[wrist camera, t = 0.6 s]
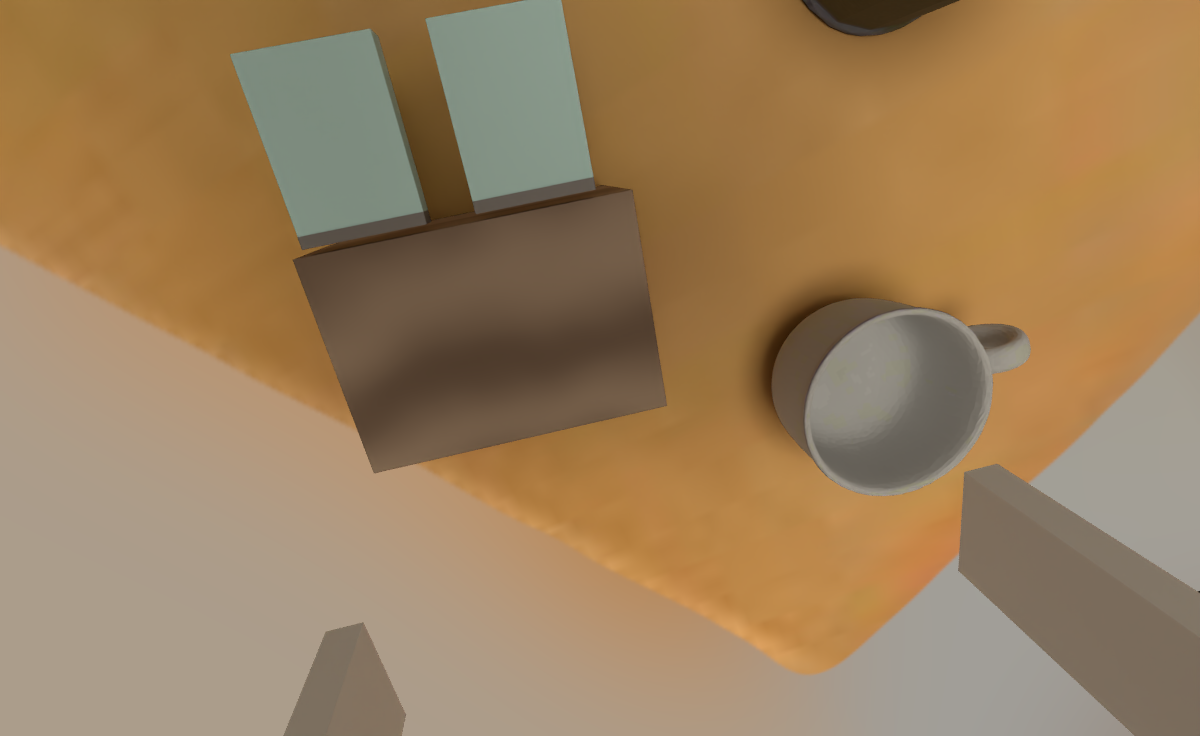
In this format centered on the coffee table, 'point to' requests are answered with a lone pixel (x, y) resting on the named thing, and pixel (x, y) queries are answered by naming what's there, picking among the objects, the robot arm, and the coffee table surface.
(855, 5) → the canister
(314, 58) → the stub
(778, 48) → the coffee table surface
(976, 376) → the teacup
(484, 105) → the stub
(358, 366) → the block
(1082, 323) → the coffee table surface
